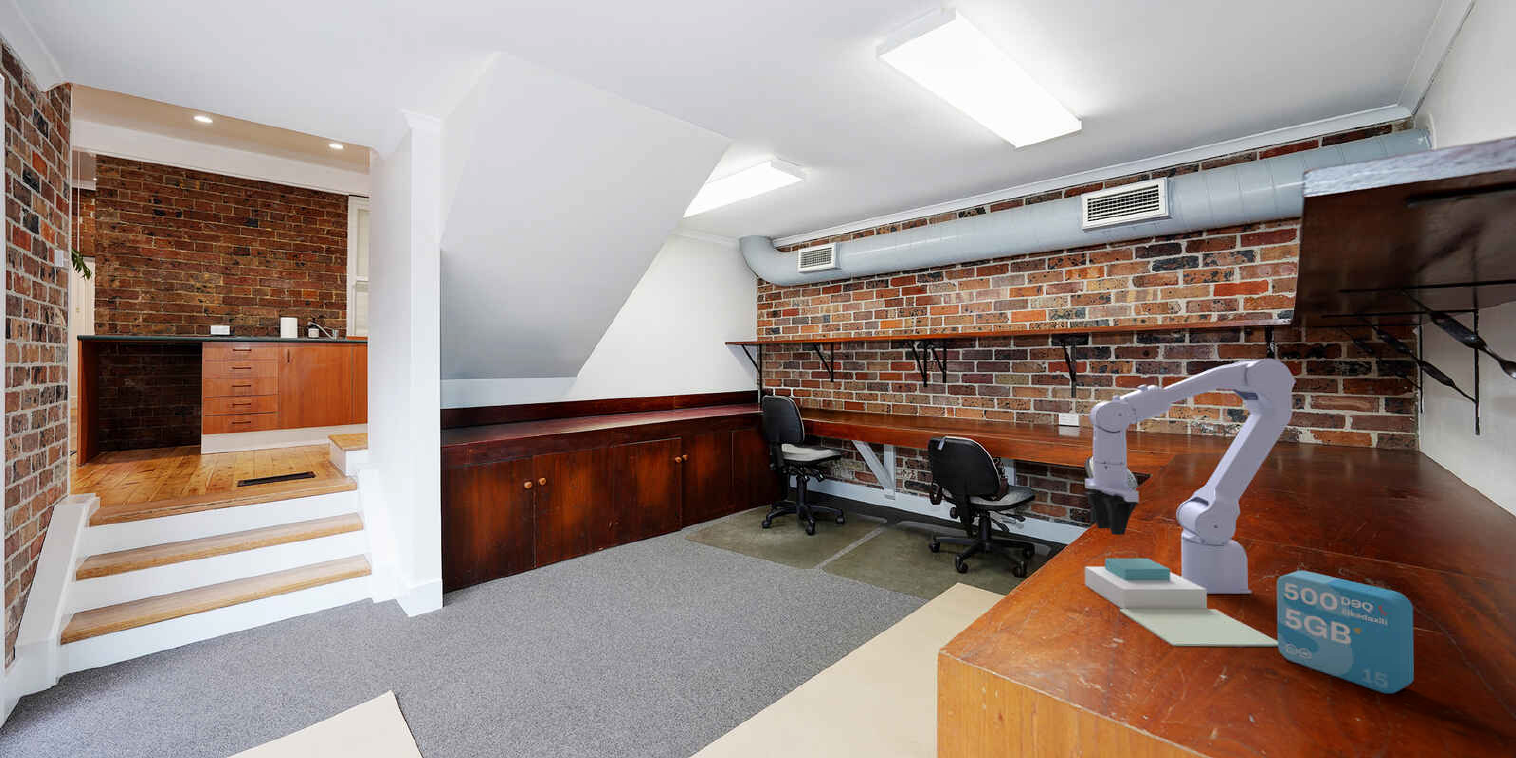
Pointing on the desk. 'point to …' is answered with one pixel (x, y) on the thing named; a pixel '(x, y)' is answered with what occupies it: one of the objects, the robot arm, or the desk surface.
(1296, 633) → the data package
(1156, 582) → the white flat block
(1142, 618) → the mat
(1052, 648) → the desk surface
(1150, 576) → the tile
